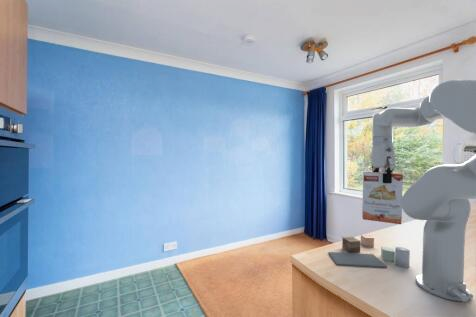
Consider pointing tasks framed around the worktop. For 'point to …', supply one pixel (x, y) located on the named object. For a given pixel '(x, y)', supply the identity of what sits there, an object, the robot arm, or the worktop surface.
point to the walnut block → (351, 244)
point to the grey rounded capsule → (402, 257)
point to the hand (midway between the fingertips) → (381, 181)
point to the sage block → (388, 253)
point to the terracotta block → (367, 240)
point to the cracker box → (382, 198)
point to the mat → (356, 259)
